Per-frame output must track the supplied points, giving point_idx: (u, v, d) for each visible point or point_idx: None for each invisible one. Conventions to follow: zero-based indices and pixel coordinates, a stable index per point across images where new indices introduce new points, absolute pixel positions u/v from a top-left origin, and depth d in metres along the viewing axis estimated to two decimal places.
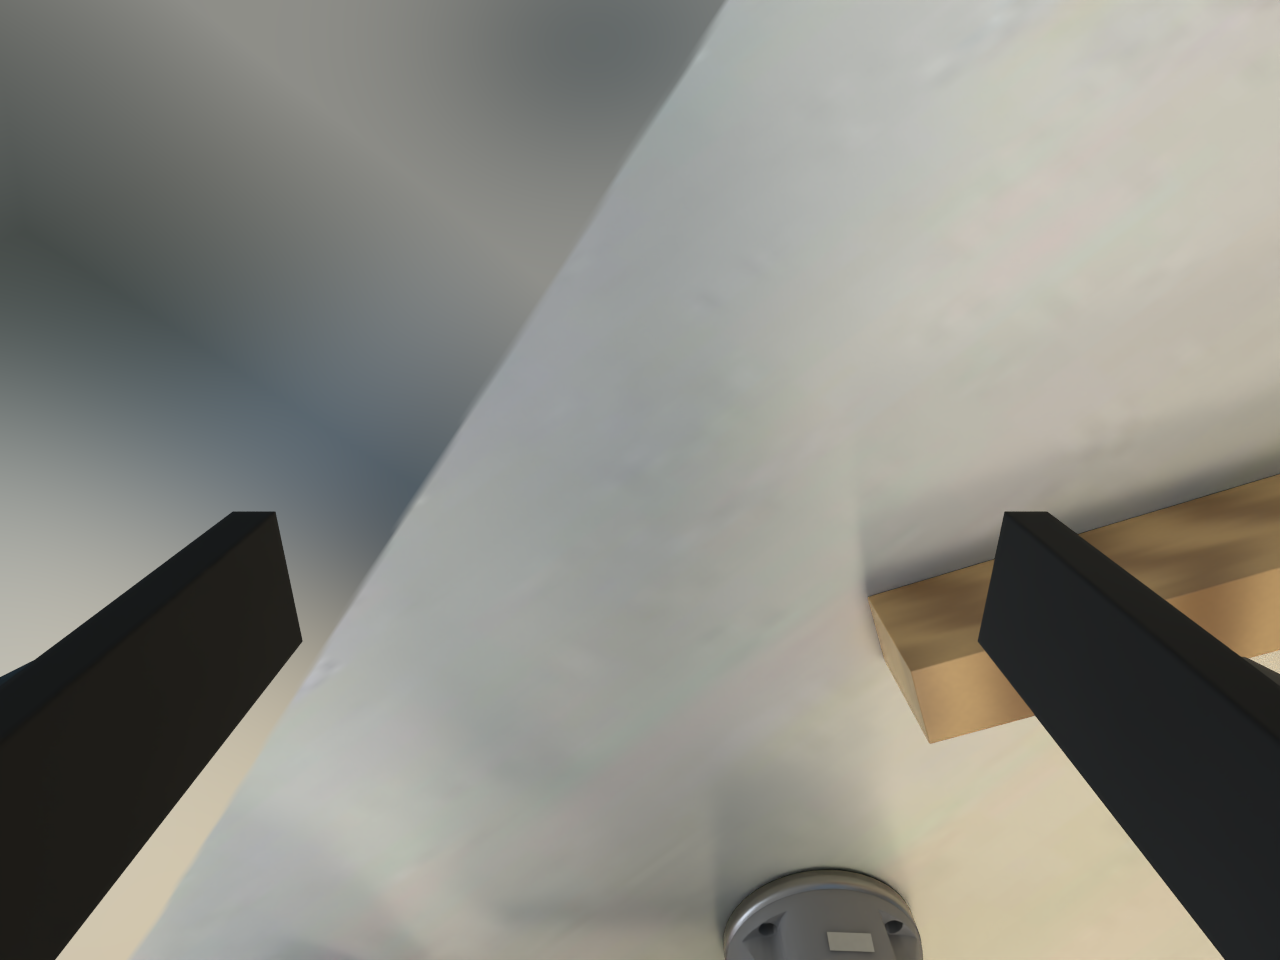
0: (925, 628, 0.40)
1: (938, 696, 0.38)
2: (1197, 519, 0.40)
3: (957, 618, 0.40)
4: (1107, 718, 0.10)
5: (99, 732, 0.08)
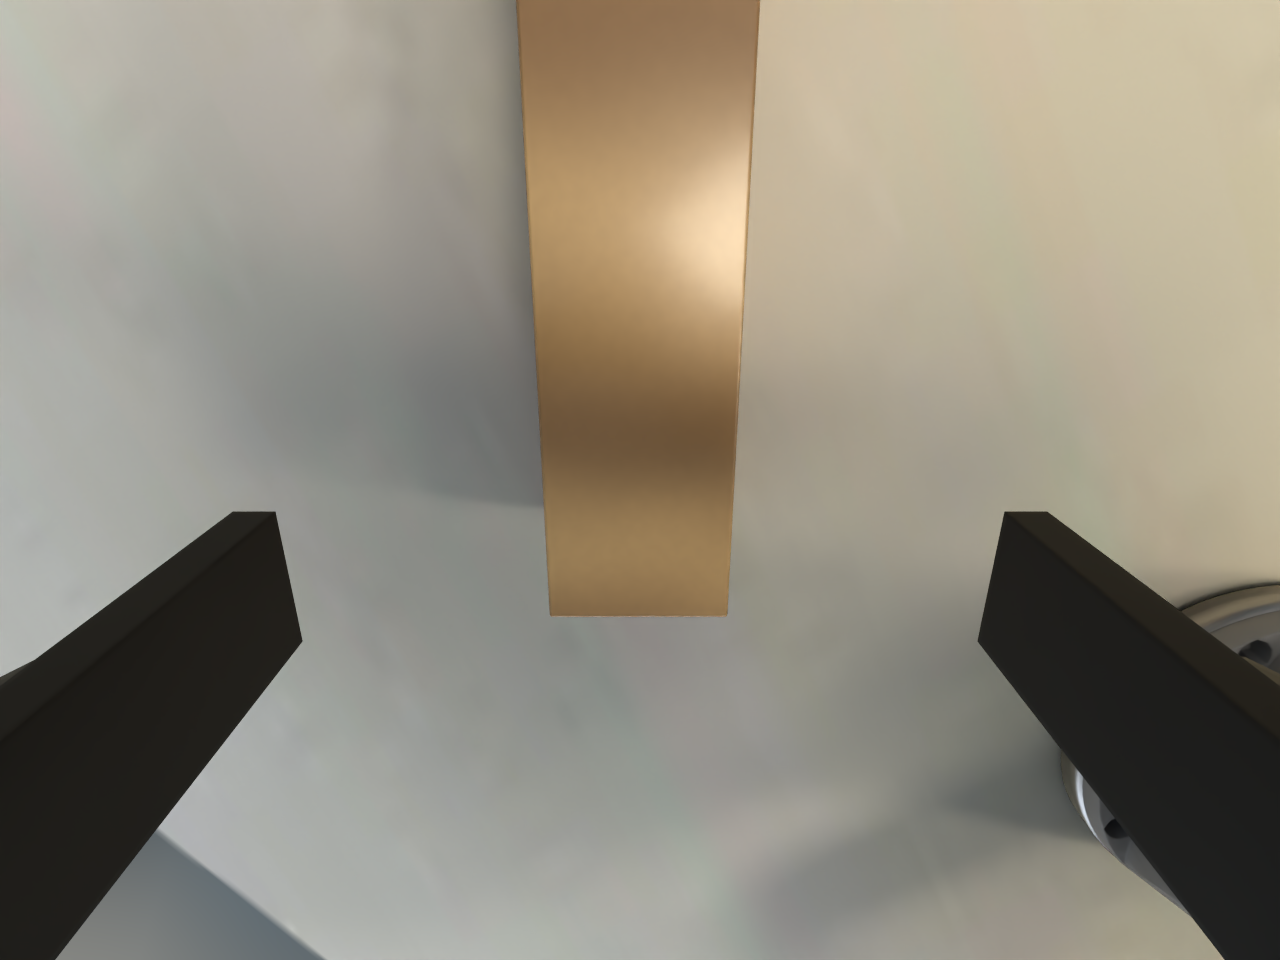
0: None
1: (621, 584, 0.20)
2: None
3: None
4: (1107, 718, 0.10)
5: (97, 732, 0.08)
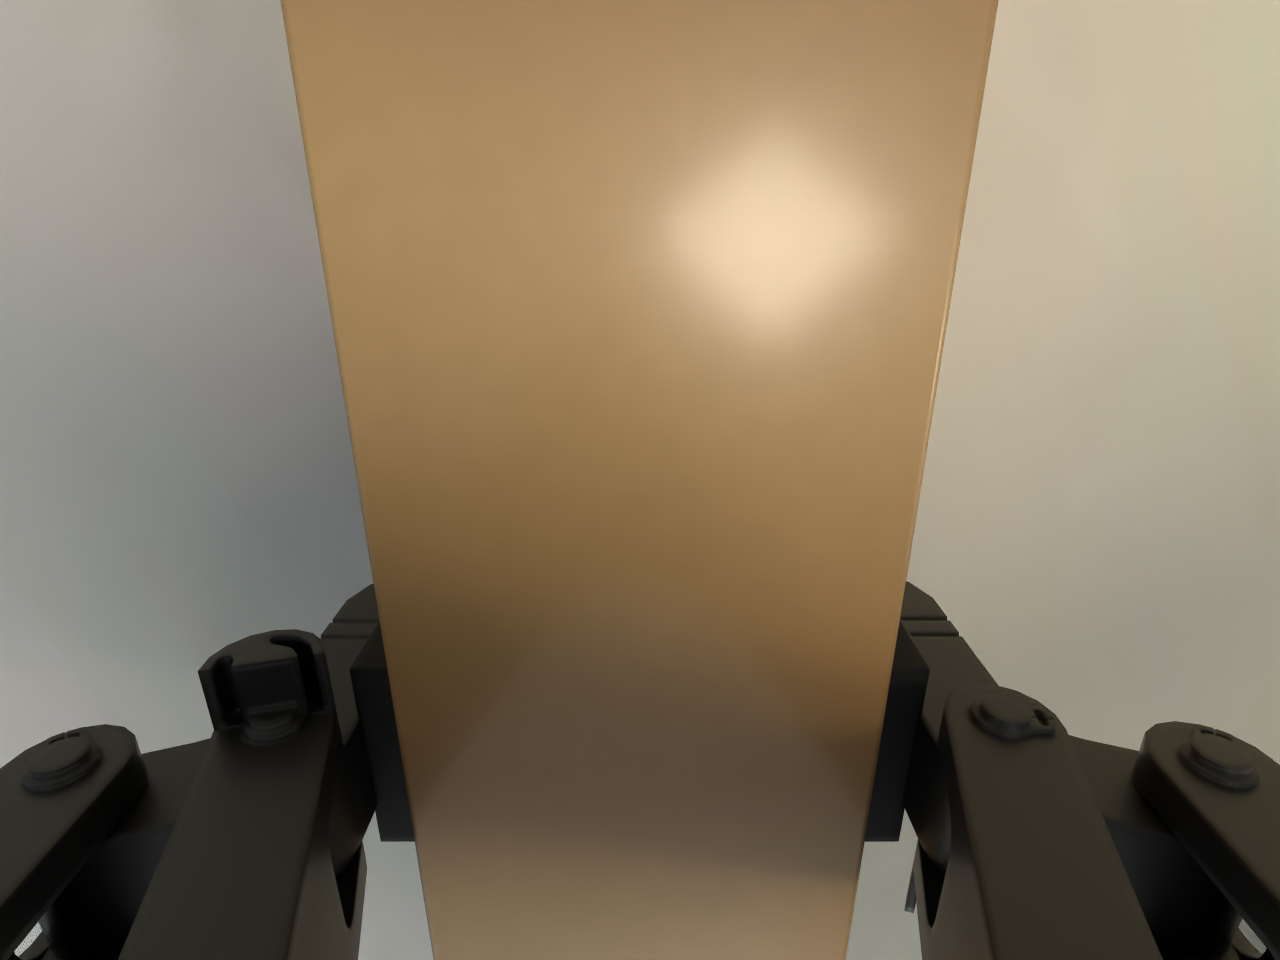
0: None
1: None
2: None
3: None
4: None
5: None
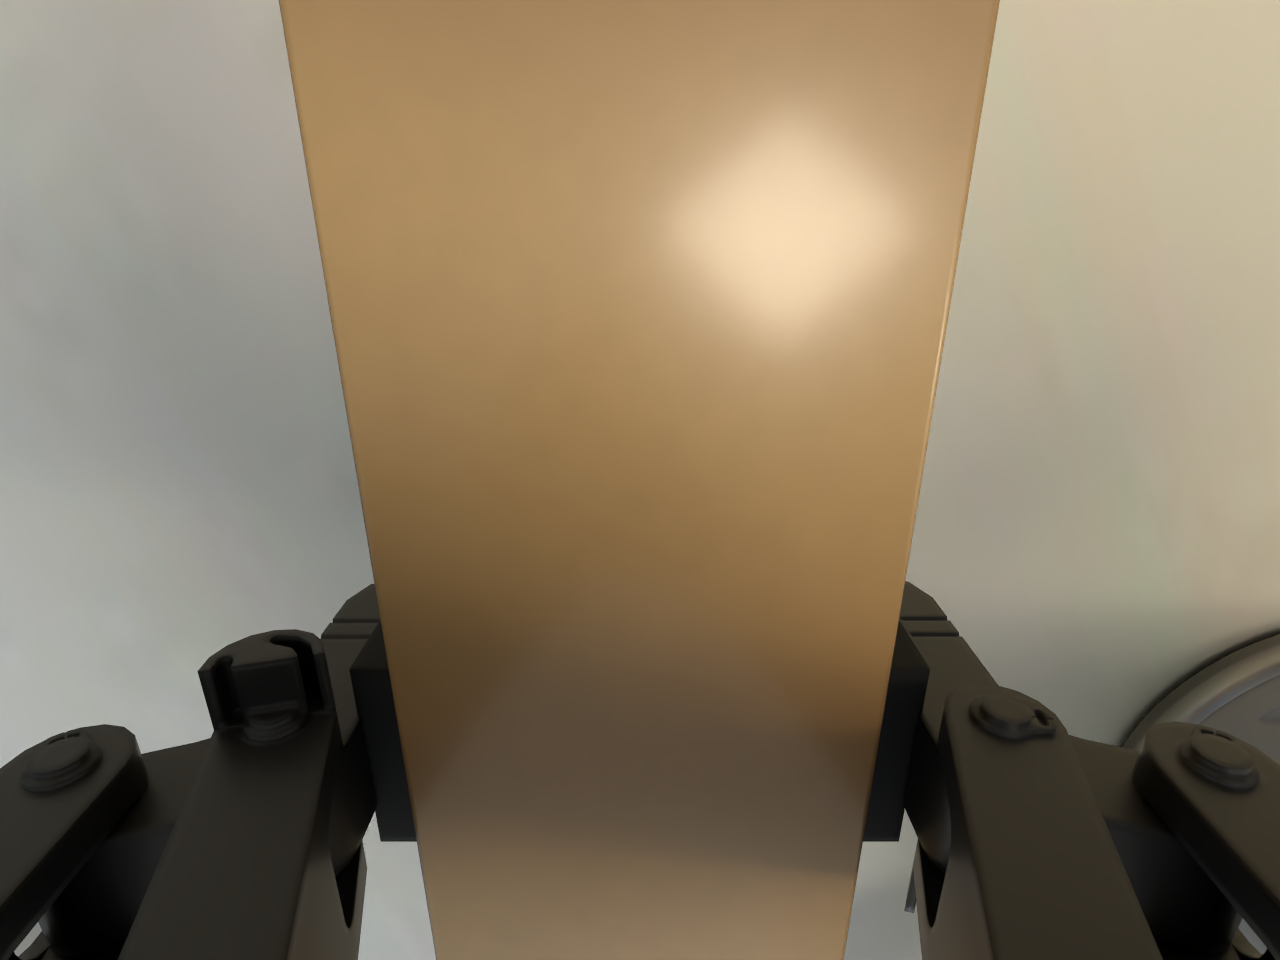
0: None
1: None
2: None
3: None
4: None
5: None
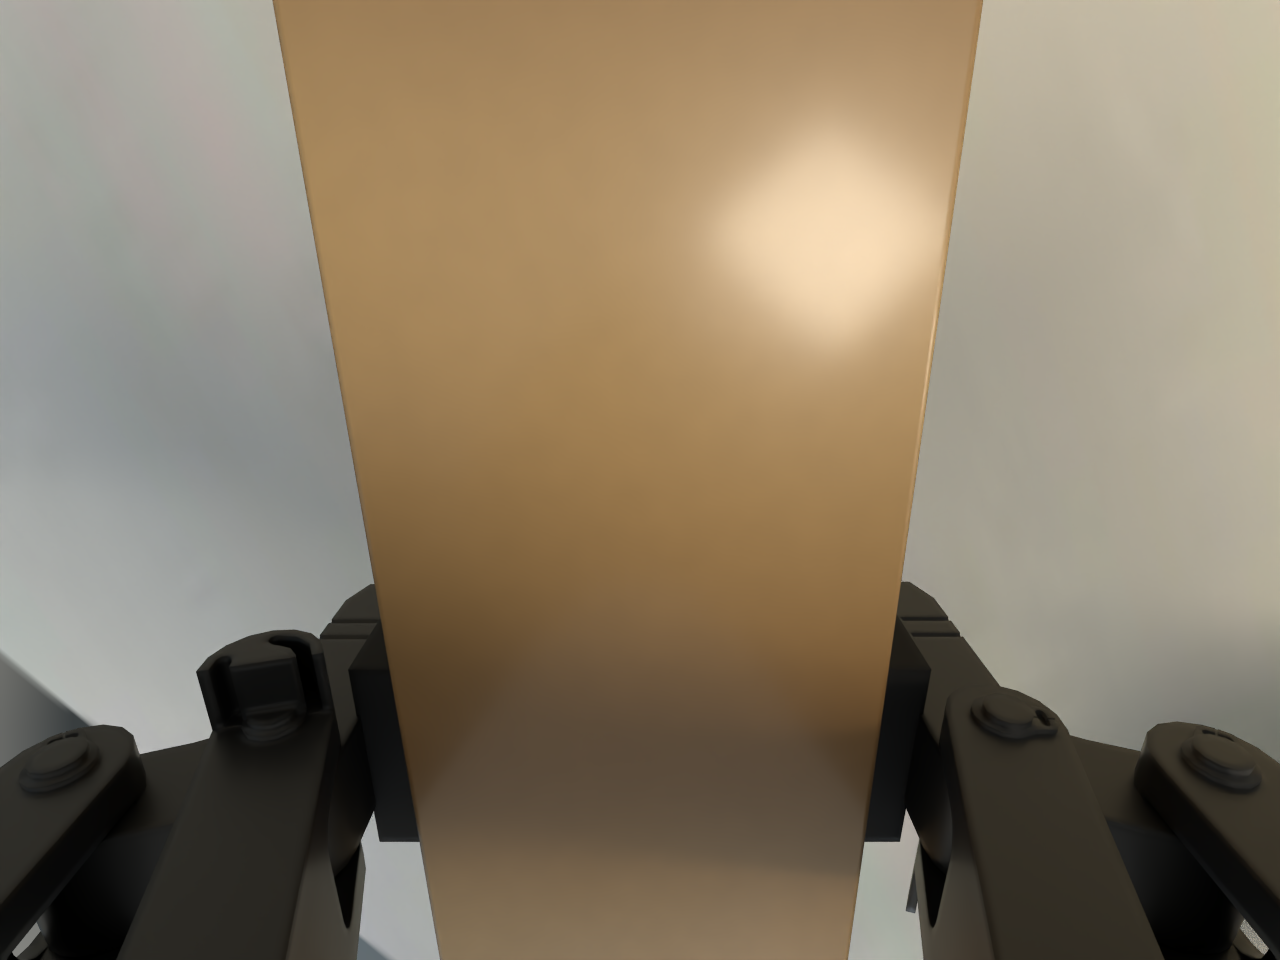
0: None
1: None
2: None
3: None
4: None
5: None
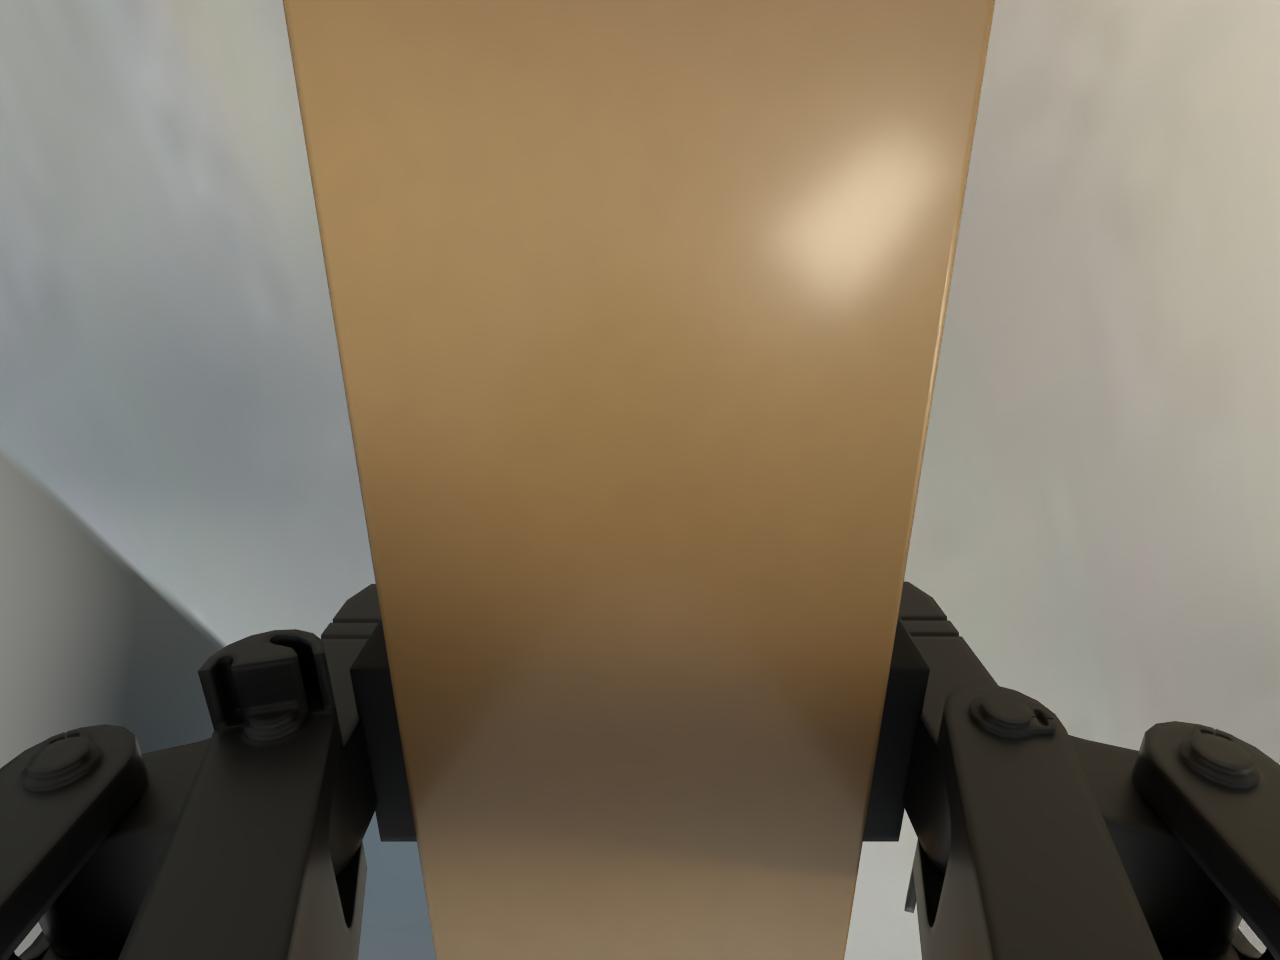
0: None
1: None
2: None
3: None
4: None
5: None
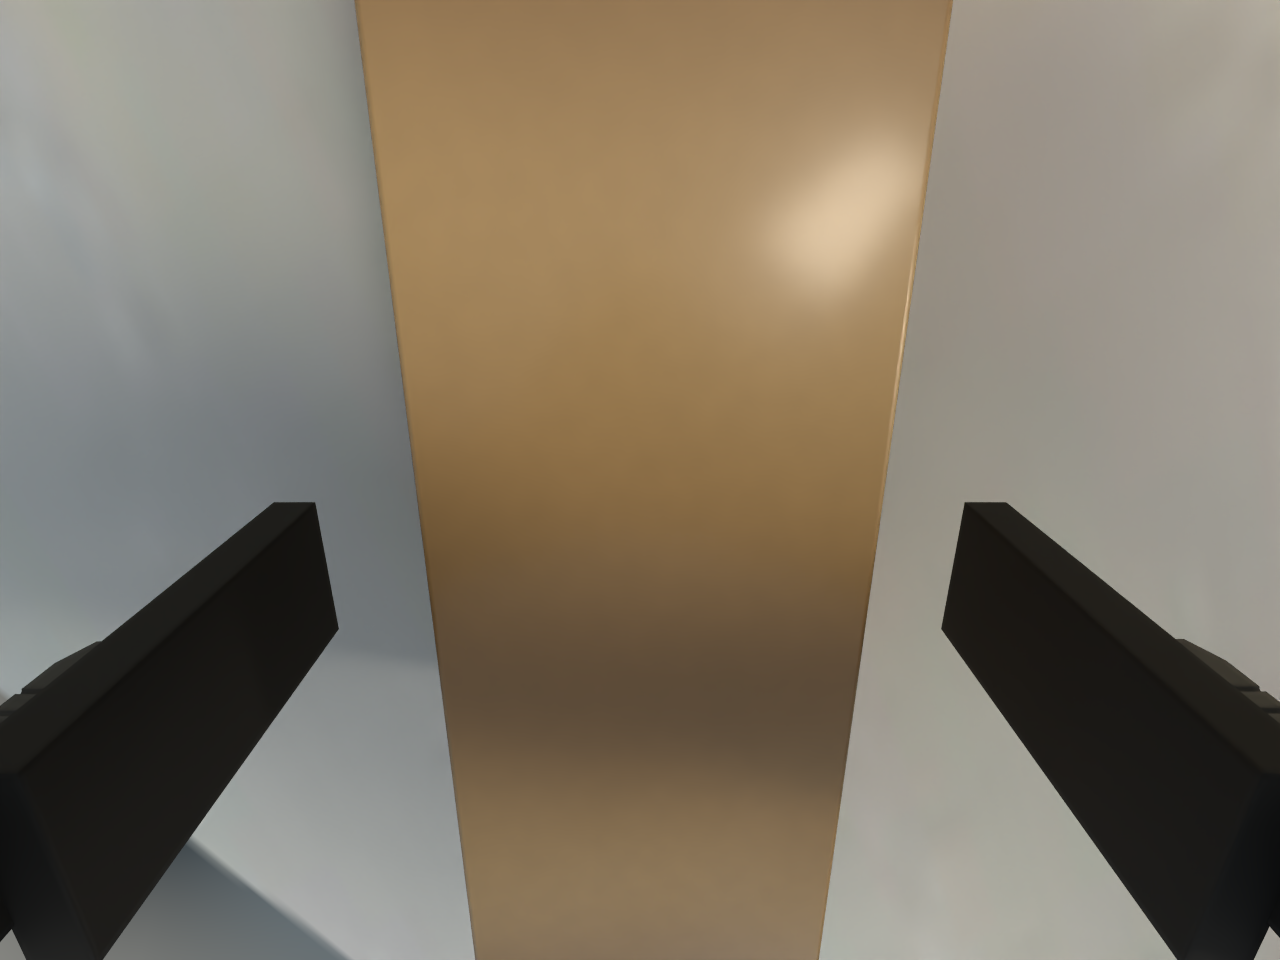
0: None
1: (613, 944, 0.10)
2: None
3: None
4: (1053, 698, 0.10)
5: (164, 709, 0.09)
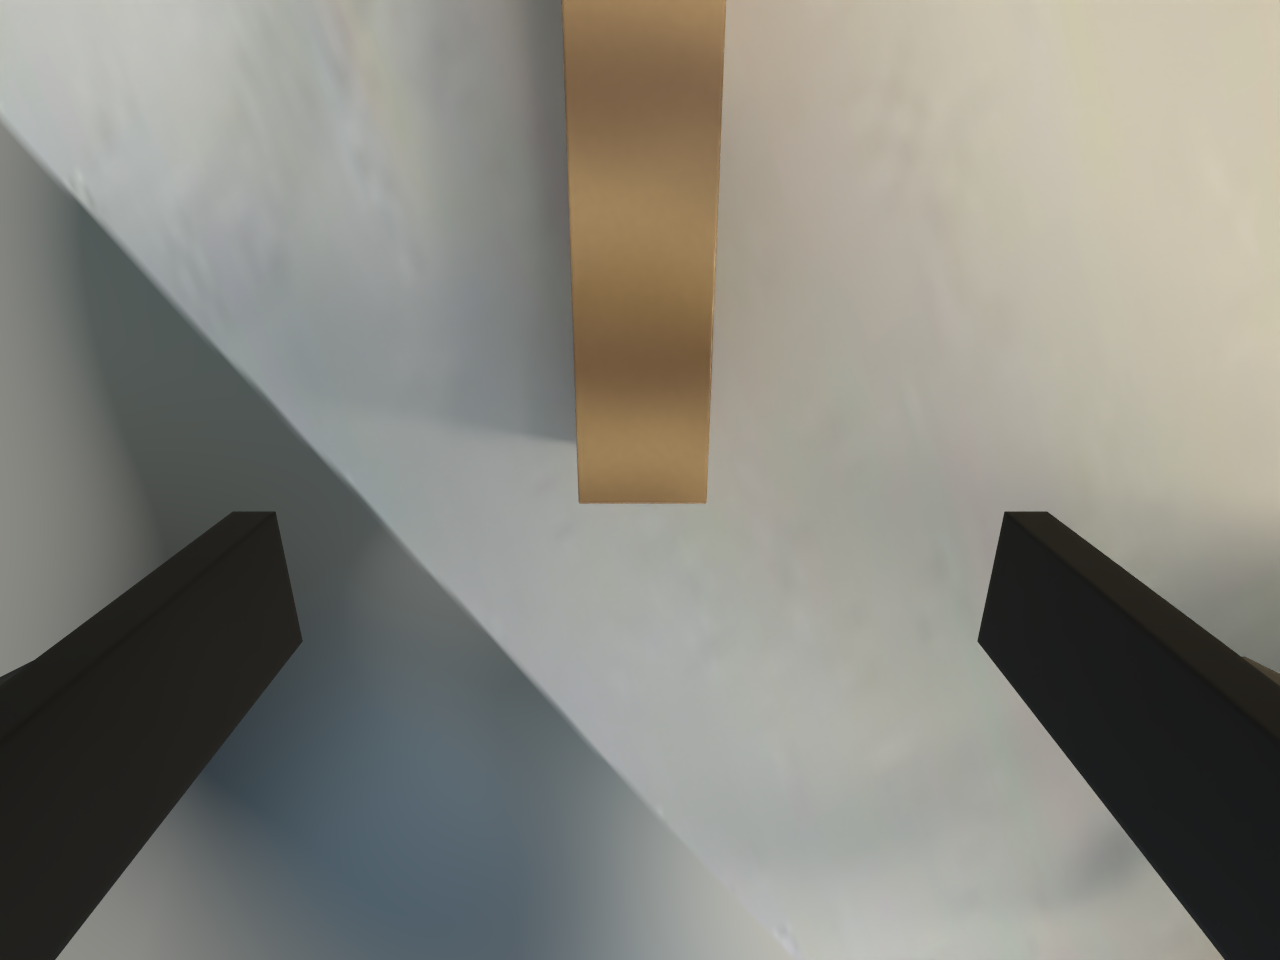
0: None
1: (630, 479, 0.28)
2: None
3: None
4: (1107, 718, 0.10)
5: (98, 732, 0.08)
